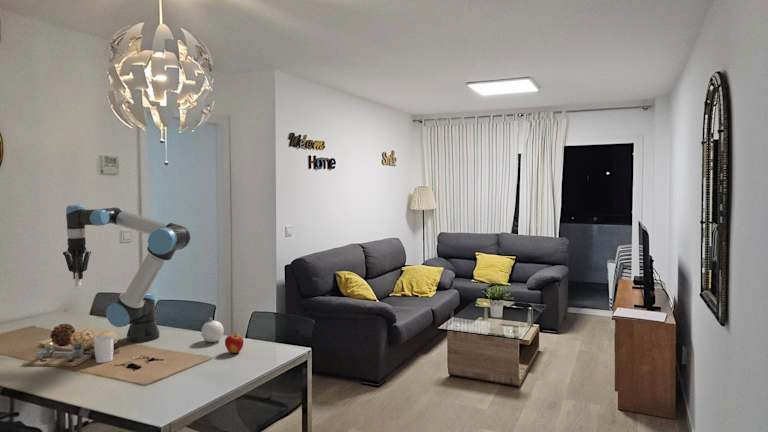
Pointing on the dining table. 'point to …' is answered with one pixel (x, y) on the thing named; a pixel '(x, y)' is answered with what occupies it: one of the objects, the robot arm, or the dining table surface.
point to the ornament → (212, 331)
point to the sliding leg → (47, 350)
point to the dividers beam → (68, 353)
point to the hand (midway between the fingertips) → (78, 285)
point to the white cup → (104, 348)
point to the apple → (234, 343)
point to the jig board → (55, 361)
